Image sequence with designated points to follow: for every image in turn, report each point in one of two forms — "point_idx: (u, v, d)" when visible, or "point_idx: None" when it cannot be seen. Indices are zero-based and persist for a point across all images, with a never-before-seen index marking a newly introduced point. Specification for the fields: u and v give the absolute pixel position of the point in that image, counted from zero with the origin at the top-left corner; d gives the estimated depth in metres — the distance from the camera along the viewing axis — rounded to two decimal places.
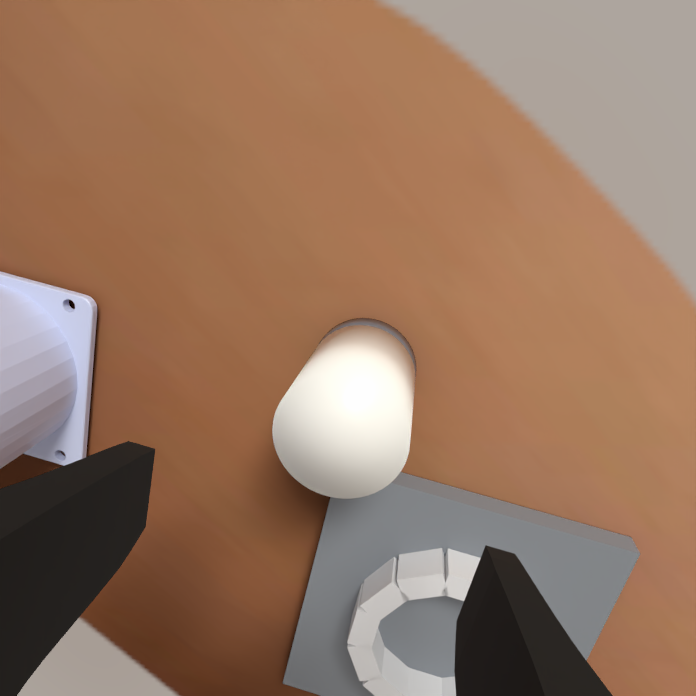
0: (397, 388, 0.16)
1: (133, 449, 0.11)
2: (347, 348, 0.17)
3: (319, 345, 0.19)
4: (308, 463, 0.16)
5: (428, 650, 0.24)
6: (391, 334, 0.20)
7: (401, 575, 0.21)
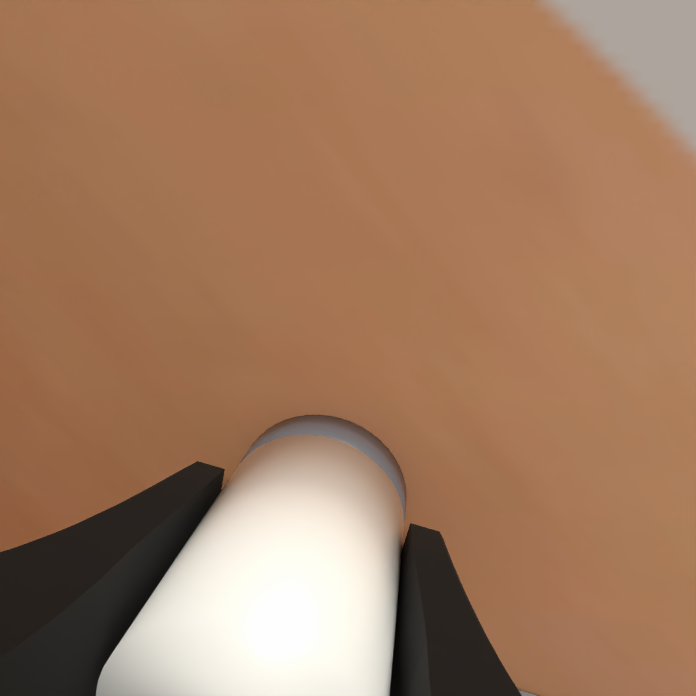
0: (360, 624, 0.08)
1: (205, 470, 0.11)
2: (266, 510, 0.09)
3: (235, 474, 0.11)
4: None
5: None
6: (362, 451, 0.11)
7: None
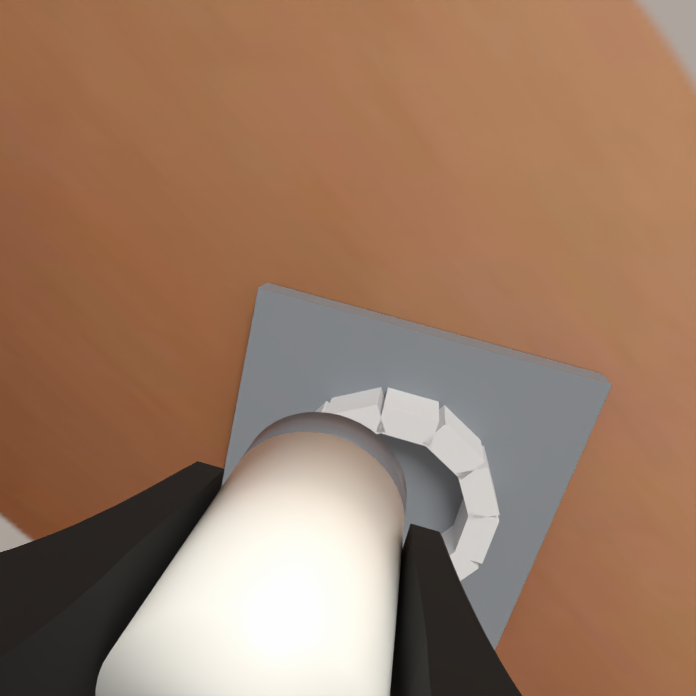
0: (359, 619, 0.07)
1: (204, 470, 0.11)
2: (266, 506, 0.09)
3: (234, 471, 0.11)
4: None
5: None
6: (362, 447, 0.11)
7: (330, 411, 0.18)
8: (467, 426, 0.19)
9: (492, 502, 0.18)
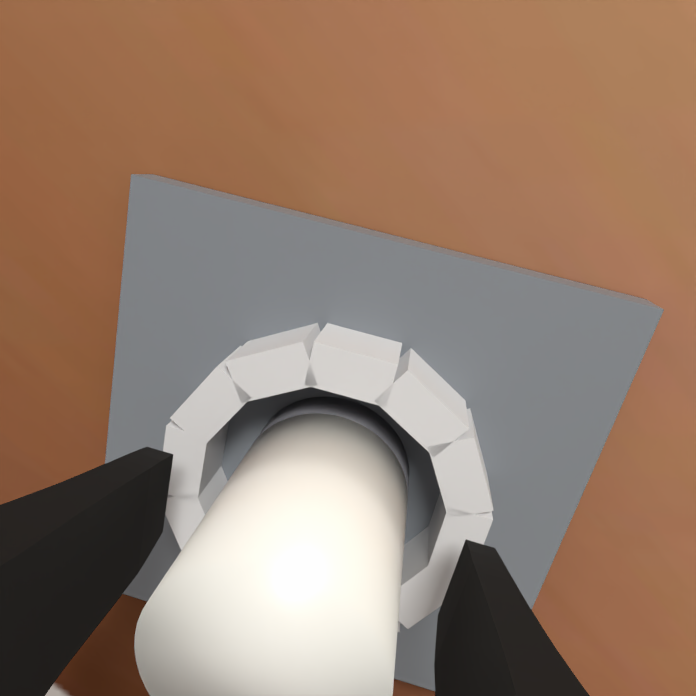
0: (369, 572, 0.08)
1: (152, 454, 0.11)
2: (283, 476, 0.10)
3: (251, 449, 0.12)
4: None
5: None
6: (368, 428, 0.12)
7: (236, 356, 0.12)
8: (445, 380, 0.13)
9: (482, 491, 0.12)
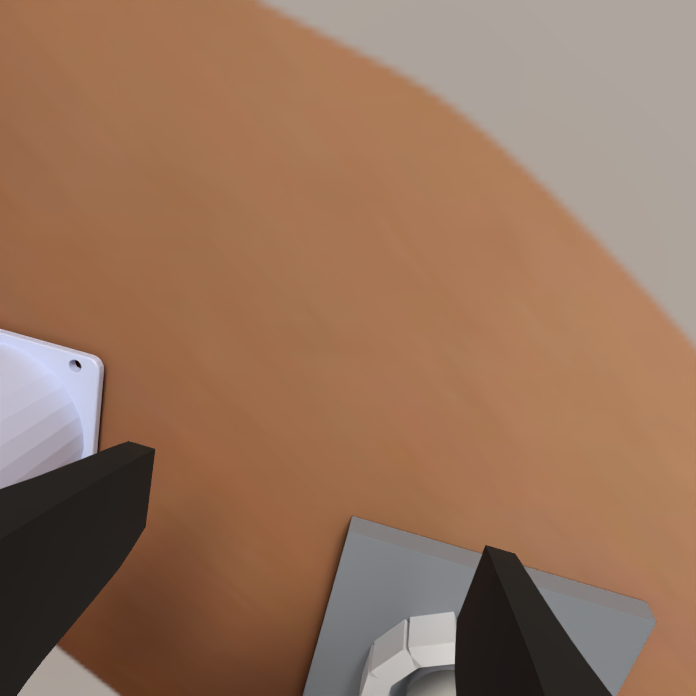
0: None
1: (133, 449, 0.11)
2: None
3: (420, 695, 0.21)
4: None
5: None
6: None
7: (413, 642, 0.21)
8: None
9: None
